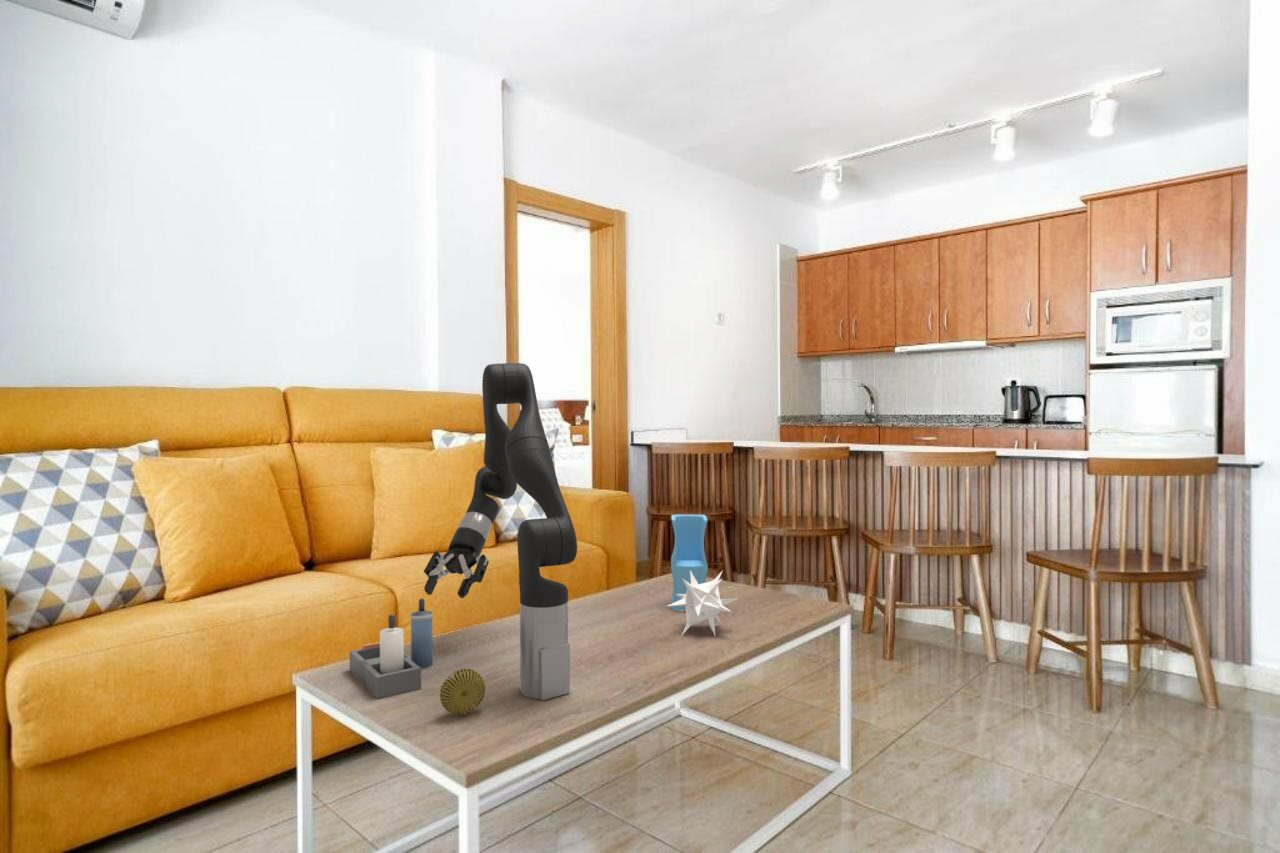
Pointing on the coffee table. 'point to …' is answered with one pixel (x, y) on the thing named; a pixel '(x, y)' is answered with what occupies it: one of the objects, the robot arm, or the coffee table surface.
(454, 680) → the sculpture
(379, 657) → the gray two-compartment caddy
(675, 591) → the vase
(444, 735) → the coffee table surface
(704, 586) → the star ornament
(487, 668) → the coffee table surface
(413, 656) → the canister
